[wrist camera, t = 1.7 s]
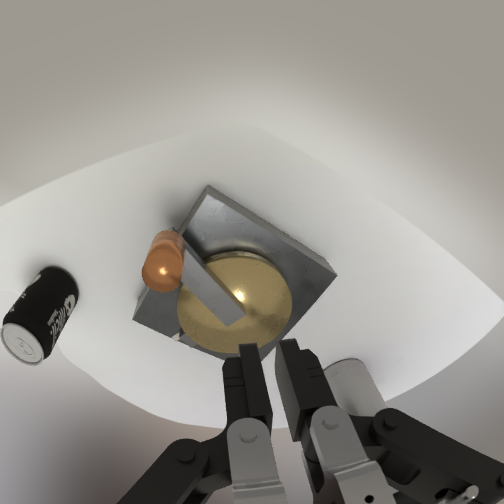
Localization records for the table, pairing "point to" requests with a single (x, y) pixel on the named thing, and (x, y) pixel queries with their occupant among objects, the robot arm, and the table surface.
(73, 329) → the table surface
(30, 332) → the beverage can
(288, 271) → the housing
